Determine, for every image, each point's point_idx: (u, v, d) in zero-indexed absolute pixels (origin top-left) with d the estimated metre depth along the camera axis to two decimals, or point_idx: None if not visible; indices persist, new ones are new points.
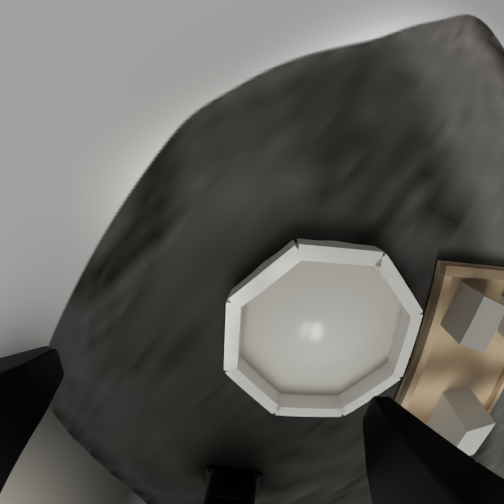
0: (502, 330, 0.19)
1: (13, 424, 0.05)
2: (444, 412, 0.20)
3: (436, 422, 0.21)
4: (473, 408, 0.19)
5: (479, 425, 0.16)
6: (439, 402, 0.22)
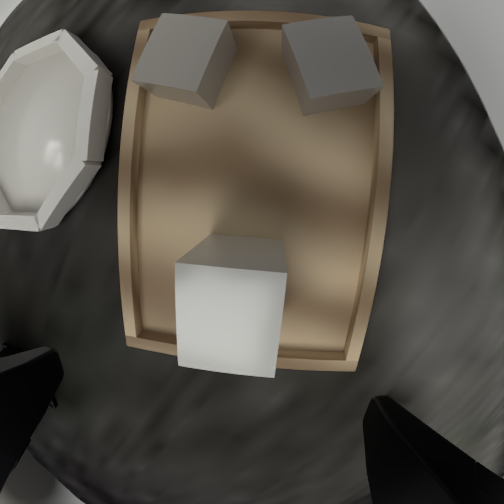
0: (301, 102, 0.13)
1: (13, 424, 0.05)
2: None
3: None
4: (251, 250, 0.13)
5: (230, 265, 0.11)
6: None
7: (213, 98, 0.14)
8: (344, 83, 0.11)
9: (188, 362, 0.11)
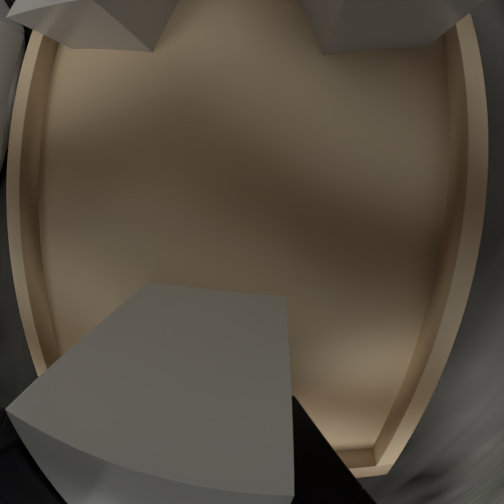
0: (320, 25, 0.06)
1: None
2: None
3: None
4: (208, 350, 0.05)
5: (125, 443, 0.03)
6: None
7: (151, 29, 0.06)
8: None
9: None
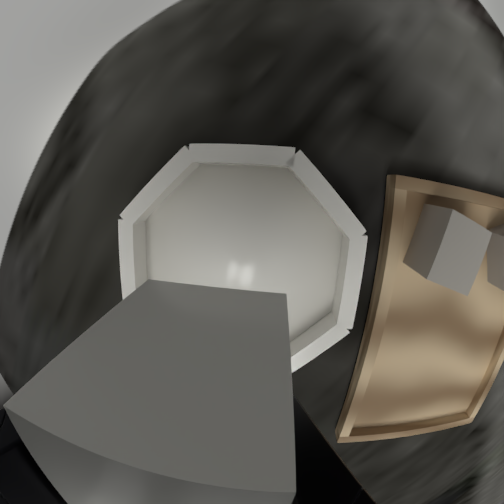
0: (493, 277, 0.16)
1: None
2: None
3: None
4: (208, 346, 0.05)
5: (124, 439, 0.03)
6: None
7: None
8: None
9: None
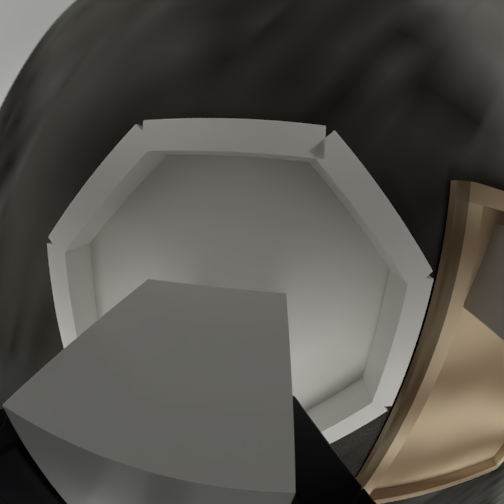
0: None
1: None
2: None
3: None
4: (208, 346, 0.05)
5: (123, 439, 0.03)
6: None
7: None
8: None
9: None
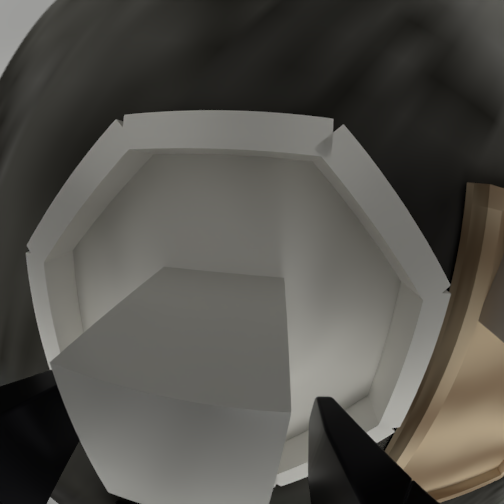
0: None
1: (52, 446, 0.05)
2: None
3: None
4: (220, 315, 0.07)
5: (157, 378, 0.04)
6: None
7: None
8: None
9: (121, 493, 0.05)
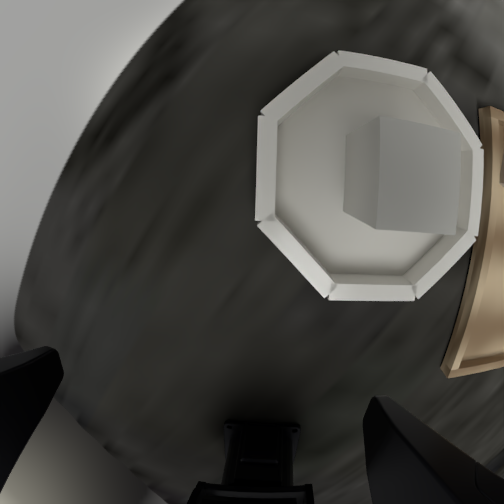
0: None
1: (13, 424, 0.05)
2: (352, 152, 0.14)
3: (350, 184, 0.15)
4: None
5: (418, 124, 0.10)
6: (346, 152, 0.16)
7: None
8: None
9: (386, 223, 0.11)
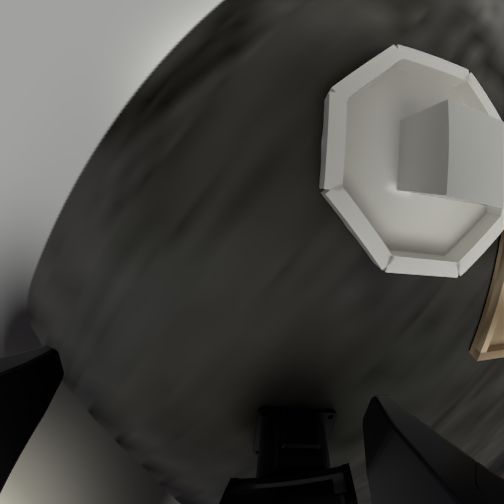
0: None
1: (13, 423, 0.05)
2: (411, 134, 0.14)
3: (407, 163, 0.15)
4: None
5: (474, 112, 0.10)
6: (401, 135, 0.15)
7: None
8: None
9: (454, 191, 0.11)
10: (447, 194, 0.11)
